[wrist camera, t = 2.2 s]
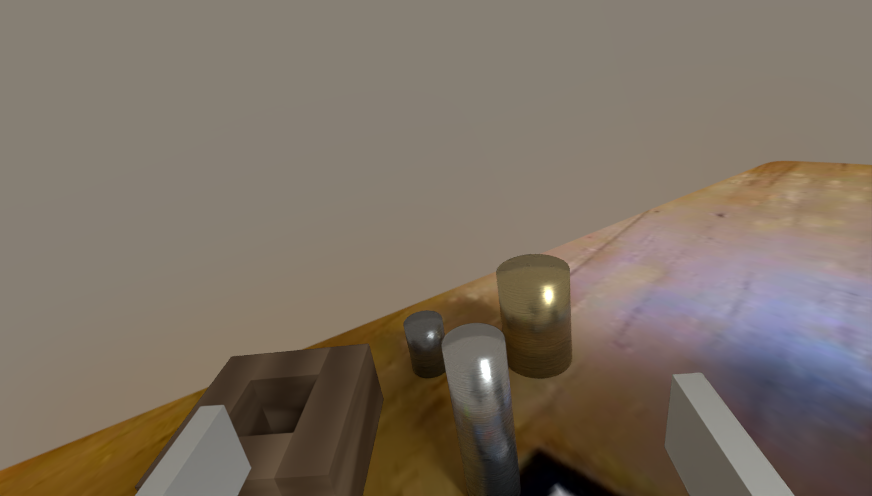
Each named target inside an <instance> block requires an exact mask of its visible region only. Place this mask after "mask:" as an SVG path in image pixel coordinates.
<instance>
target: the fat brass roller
mask: <svg viewBox="0 0 872 496" xmlns="http://www.w3.org/2000/svg"><path fill="white" fill-rule="evenodd" d="M496 275H497V284H498V294H499V303H500V312H501V322H502V331H503V335H504V337H505V344H506V353H507V363H508V366H509V367H510V368H511V369H512V370H513V371H515V372H516V373H518V374H520V375H523V376H525V377H530V378H549V377H553V376H556V375H559V374H561V373H562V372H564V371H565V370H566V369H567V368H568V367H569V366H570V364H571V362H572V338H571V302H570V268H569V266H568V264H567V263H566V262H565V261H563V260H561V259H559V258H557V257H554V256H550V255H543V254H529V255H522V256H517V257H514V258H511V259H509V260H507V261H505V262H503V263H502V264H501V265H500V266H499V267H498V269H497V271H496Z"/></svg>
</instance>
